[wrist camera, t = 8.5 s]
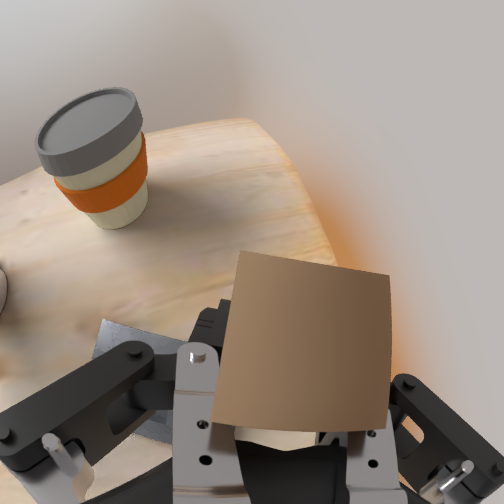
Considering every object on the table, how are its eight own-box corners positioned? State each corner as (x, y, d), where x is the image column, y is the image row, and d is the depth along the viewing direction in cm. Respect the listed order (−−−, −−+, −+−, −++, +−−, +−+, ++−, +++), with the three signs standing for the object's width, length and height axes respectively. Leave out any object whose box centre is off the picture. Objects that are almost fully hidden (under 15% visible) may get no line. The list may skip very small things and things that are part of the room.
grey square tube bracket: (85, 411, 22) (54, 412, 16) (106, 321, 27) (79, 302, 21) (229, 454, 22) (229, 471, 16) (246, 354, 27) (251, 344, 21)
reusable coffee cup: (147, 245, 32) (107, 153, 19) (67, 237, 32) (13, 162, 18) (170, 171, 38) (154, 81, 25) (98, 170, 38) (68, 94, 24)
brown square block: (222, 397, 15) (210, 421, 4) (231, 343, 16) (240, 251, 6) (279, 404, 15) (385, 428, 4) (286, 350, 16) (389, 275, 6)
